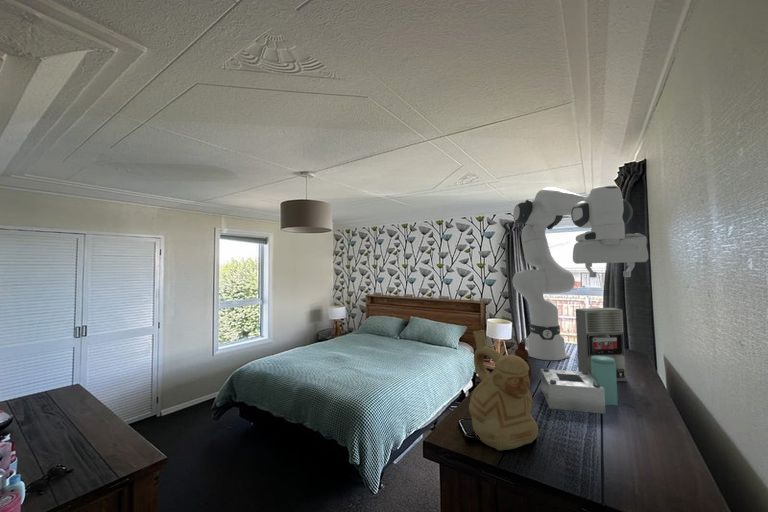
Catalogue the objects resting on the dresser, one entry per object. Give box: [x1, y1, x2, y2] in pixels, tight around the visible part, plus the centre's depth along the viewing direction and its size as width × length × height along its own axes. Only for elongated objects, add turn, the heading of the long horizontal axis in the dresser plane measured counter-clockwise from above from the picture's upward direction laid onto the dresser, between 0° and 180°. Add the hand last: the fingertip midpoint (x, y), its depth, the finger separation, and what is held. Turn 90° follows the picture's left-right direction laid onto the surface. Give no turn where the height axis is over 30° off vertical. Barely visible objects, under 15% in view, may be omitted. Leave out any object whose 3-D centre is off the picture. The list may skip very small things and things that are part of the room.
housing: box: [540, 367, 607, 415], centre depth 97 cm, size 14×14×8 cm
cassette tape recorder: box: [575, 307, 629, 382], centre depth 113 cm, size 14×6×25 cm, turn 90°
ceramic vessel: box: [468, 329, 539, 452], centre depth 79 cm, size 17×20×25 cm
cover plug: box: [591, 356, 619, 407], centre depth 96 cm, size 6×6×13 cm
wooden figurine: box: [514, 339, 532, 380], centre depth 115 cm, size 7×6×15 cm
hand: (609, 277), depth 102 cm, fingers open, 8 cm apart
